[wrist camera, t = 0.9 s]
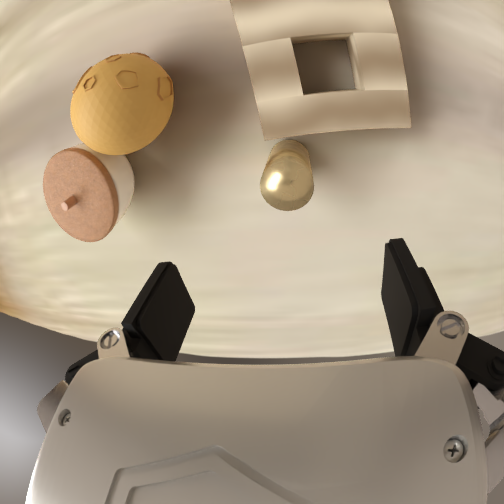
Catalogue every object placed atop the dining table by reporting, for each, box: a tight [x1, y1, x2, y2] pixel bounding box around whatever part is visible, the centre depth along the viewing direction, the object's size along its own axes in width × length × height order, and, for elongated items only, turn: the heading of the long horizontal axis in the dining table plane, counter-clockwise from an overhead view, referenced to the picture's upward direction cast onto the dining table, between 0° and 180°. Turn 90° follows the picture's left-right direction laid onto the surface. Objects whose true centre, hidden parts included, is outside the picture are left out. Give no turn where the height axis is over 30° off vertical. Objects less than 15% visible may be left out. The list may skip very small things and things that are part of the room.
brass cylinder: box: [260, 140, 314, 211], centre depth 23 cm, size 4×4×8 cm
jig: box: [230, 0, 411, 140], centre depth 16 cm, size 20×13×7 cm, turn 12°
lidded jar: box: [43, 143, 134, 242], centre depth 26 cm, size 11×11×9 cm
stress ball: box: [71, 53, 174, 155], centre depth 20 cm, size 10×10×10 cm
